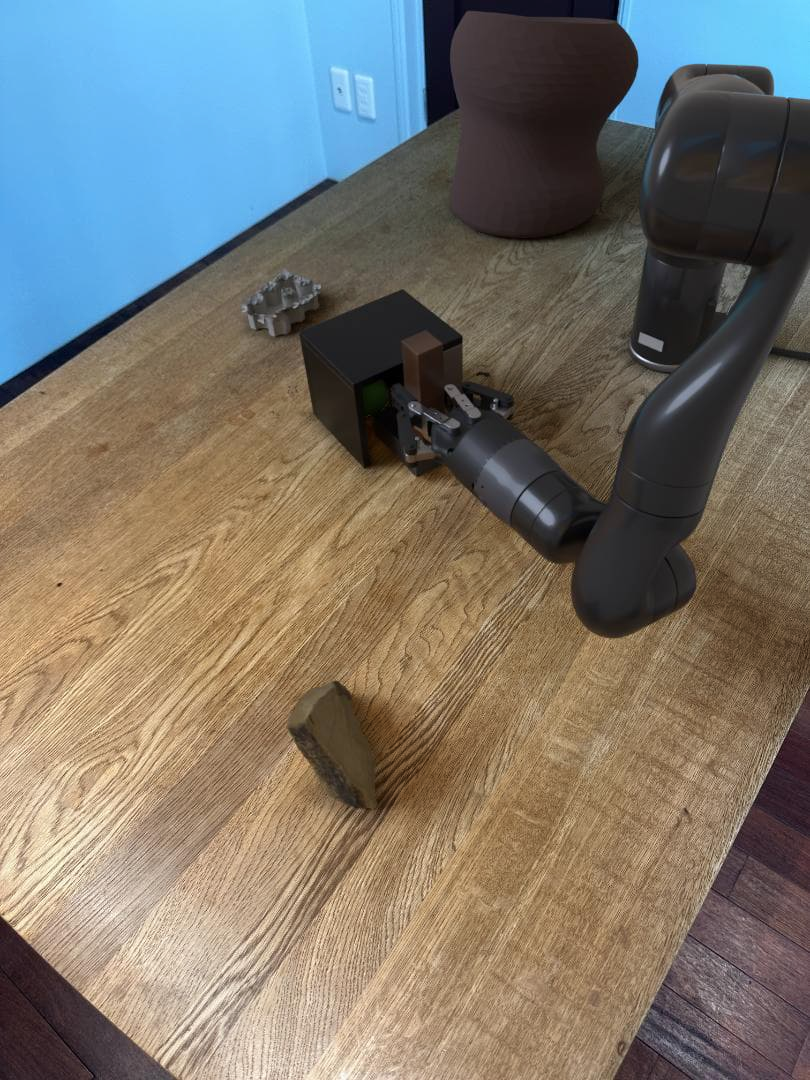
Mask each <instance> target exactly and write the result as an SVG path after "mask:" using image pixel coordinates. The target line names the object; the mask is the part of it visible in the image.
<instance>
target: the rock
mask: <svg viewBox="0 0 810 1080" xmlns="http://www.w3.org/2000/svg"><path fill="white" fill-rule="evenodd" d="M286 730H287V731H288V733H289V735H290V737H291V739H292V740H293V743H294V744H295V746H296V748H297V750H298V751H299V752H300V753H301V754H302V756H303V758H305V759H306V760H307V763H308V764H310V766H311V767H312V768H311V769H312V771H313V773H314V775H315V776H316V778H317V781H318V782H319V784H320V786H321V787H322V789H323V791H324V793H325V794H326V795H327V796H329V797H330V798H332V799H333V800H337V801H339V802H340V803H343V804H346V805H348V806H350V807H352V808H359V809H370V810H375V809H376V808H377V807H378V800H377V799H376V783H375V781H376V767H377V765H376V763H375V758H374V756H373V752H372V747H371V746H370V744H369V742H368V739H367V737H366V736H365V735H364V733H363V730H362V726H361V724H360V722H359V720H358V718H357V717H356V715H355V714H354V698H353V695H352V693H351V691H350V690H348V688H347V687H346V686H345V685H342V684H341V682H339V681H338V680H332V681H329V682H328V683H326V684H324V685H322V686H317V687H311V688H310V689H308V690H307V691H306V693H303V695H302V696H300V697H299V698H297V704H296V705H295V706H294V707H293V709H292V711H291V712H290V714H289V716H288V717H287V720H286Z"/></svg>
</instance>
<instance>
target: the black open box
mask: <svg viewBox="0 0 810 1080" xmlns="http://www.w3.org/2000/svg"><path fill="white" fill-rule="evenodd" d="M425 330H427V331H428V332H429V333H430V334H431V335H433V336H434V337H435V338H436V339H438V340H439V341H440V342H441V343H443V361H444V381H446V382H447V383H448V384H452V385H455V386H456V387H458V386H462V383H463V382H464V360H463V358H464V357H463V356H464V354H463V353H464V351H463V349H464V347H463V346H464V345H463V343H464V342H463V337H464V336H463V335H462V334H461V333H460V332H458V331H457V330H456V329H454V328H453V327H452V326H451V325H450V324H448V323H447V322H446V321H444V319H442V318H440V317H439V316H438V315H437V314H435V313H434V312H433V311H432V310H431V309H429V308H428V307H427V306H425V305H424V304H423V303H422V302H420V301H419V300H418V299H416V298H415V297H413V296H412V295H411V294H410V293H409V292H407V291H406V290H405V289H403V288H401V289H399V290H396V291H394V292H392V293H389V294H387V295H385V296H384V295H383V296H382V297H379V298H376V299H374V300H372V301H370V302H367V303H365V304H362V305H360V306H358V307H355V308H353V309H351V310H348V311H345V312H343V313H341V314H338V315H336V316H333V317H331V318H328V319H326V320H323V321H321V322H318V323H315V324H314V325H311V326H309V327H306V328H304V329H301V330H298V335H299V340H300V341H299V342H300V347H301V353H302V358H303V363H304V369H305V374H306V380H307V386H308V390H309V397H310V402H311V407H312V412H313V413H312V414H313V415H314V416H315V417H316V418H317V420H318V421H319V423H321V424H322V425H323V427H325V428H326V429H327V431H328V432H330V434H331V435H332V436H333V437H334V438H335V439H336V440H337V441H338V442H339V444H341V446H343V448H344V449H345V450H346V451H347V452H348V453H349V454H350V455H351V456H352V457H353V459H354V460H356V462H358V464H359V465H360V466H361V467H362V468H363V469H367V468H368V467H370V466H372V458H371V451H370V443H369V433H368V425H367V416H365V408H364V399H363V391H362V388H364V387H366V386H368V385H371V384H373V383H375V382H377V381H379V380H383V381H384V382H385V384H386V385H387V388H389V386H393V385H395V384H397V383H400V384H401V385H402V386H403V387H404V388H405V385H404V371H403V357H402V343H401V341H402V340H404V339H407V338H409V337H411V336H414V335H416V334H418V333H421V332H423V331H425ZM446 413H449V412H448V411H447V409H446V408H445V414H446Z"/></svg>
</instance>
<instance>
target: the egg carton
mask: <svg viewBox="0 0 810 1080" xmlns="http://www.w3.org/2000/svg"><path fill="white" fill-rule="evenodd" d="M322 287H323V285H322V284H320V283H318V284H315V283H314V282H313V280H312V279H310V278H309V279H307V278H305V277H304V276H300V275H299V274H298V273H295V274H293V273H292V272H290V271H289V270H287V269H286V268H283V269H281V271H280V272H279V273H278V274H277V275H276V276H275V278H274V279H271V280H270V281H269V283H267V282H265V283H264V284H263V285H262V286H261V288H259V289H257V290H256V291H255V292H254V293H253V294H251V295H248V296H246V297H244V298H243V299H242V302H241V306H240V312H241V313H247V318H248V324H249V327H250V328H251V330H254V331H257V330H259V329H267V330H268V334H269V335H270V336H272V337H274V338H275V337H277V336H281V335H288V334H289V333H290V332H292V328H291V327H292V325H291V324H294V323H301V322H303V320H305V319H306V316H305V313H306V312H307V311H310V310H311V311H316V310H318V309H319V308H320V303H319V300H318V299H319V298H318V297H319V294H321V288H322Z"/></svg>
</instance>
